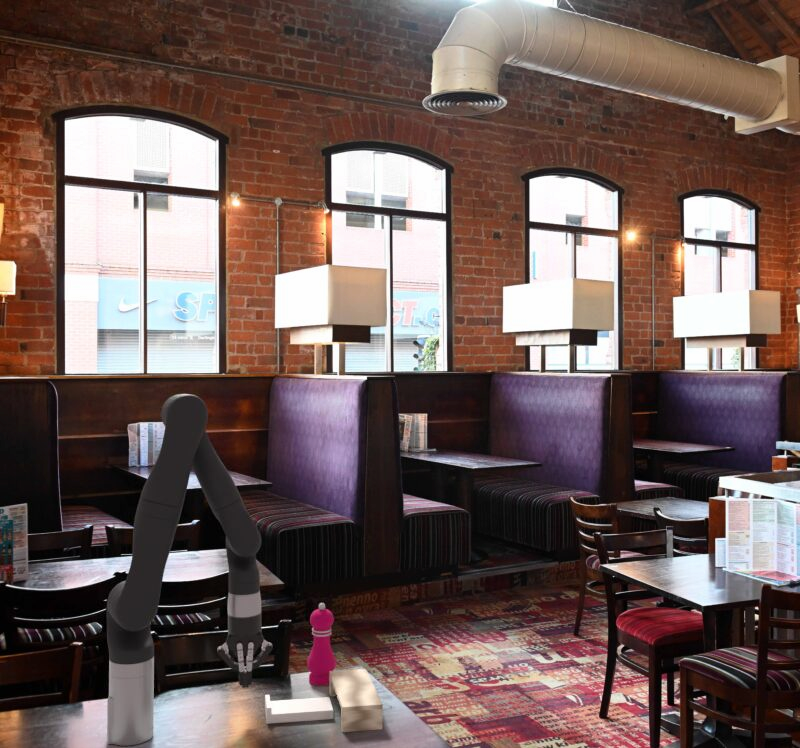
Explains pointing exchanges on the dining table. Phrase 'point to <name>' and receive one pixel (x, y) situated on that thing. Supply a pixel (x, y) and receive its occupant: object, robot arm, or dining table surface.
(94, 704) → the dining table surface
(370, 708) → the overhang shelf
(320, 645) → the pepper mill
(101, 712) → the dining table surface
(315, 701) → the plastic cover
